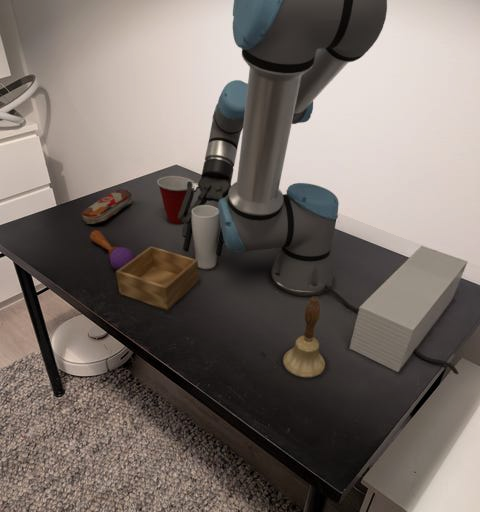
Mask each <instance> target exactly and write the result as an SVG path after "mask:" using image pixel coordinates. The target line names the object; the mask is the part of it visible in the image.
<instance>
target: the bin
mask: <svg viewBox="0 0 480 512" xmlns="http://www.w3.org/2000/svg"><path fill="white" fill-rule="evenodd" d="M115 274H116V280H117V286H118V287H117V288H118V294H119V295H122V296H124V297H128V298H131V299H134V300H136V301H139V302H143V303H144V304H145V303H146V304H148V305H149V306H150V305H151V306H154V307H156V308H160V309H161V310H164V311H169V310H170V309H171V308H172V307H173V306H174V305H175V304H176V303H177V302H179V301H180V300H181V298H183V297H184V296H185V295H186V294H187V293H188V292H189V291H190V290H191V289H192V288H193V287H194V286H196V284H197V283H198V282H199V267H198V260H196V258H192V257H188V256H186V255H182V254H179V253H176V252H172V251H170V250H165V249H162V248H159V247H155V246H152V245H151V246H149V247H147V248H146V249H145V250H143V251H142V252H141V253H139V254H138V255H136V256H134V259H132V260H131V261H130V262H128V263H127V264H126V265H124V266H123V267H122V268H120V269H119V270H115Z"/></svg>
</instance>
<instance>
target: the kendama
mask: <svg viewBox="0 0 480 512" xmlns="http://www.w3.org/2000/svg"><path fill="white" fill-rule="evenodd" d="M89 238H90V240H91V241H92V242H93V243H95V244H96V245H98V246H100V247H102V248H103V249H105V250H106V251H108V259H109V262H110V263H109V264H110V266H112V268H113V269H114V270H115V271H117V270H119V269H120V268H122V267H123V266H124V265H126V264H127V263H128V262H130V261H131V260H132V259H134V258H135V254H134V253H133V251H132V250H131V249H129V248H127V247H124V246H112V245H111V244H110V243H109V241H108V240H107V238H106V237H105V236H104V235H103V233H102V232H101V231H100V230H93V231H92V232H91V233H90V235H89Z"/></svg>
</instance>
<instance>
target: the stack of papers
mask: <svg viewBox="0 0 480 512" xmlns="http://www.w3.org/2000/svg"><path fill="white" fill-rule="evenodd" d="M467 264H468V260H464V259H461V258H459V257H456V256H453V255H451V254H447V253H445V252H441V251H438V250H436V249H432V248H430V247H427V246H424V245H420V246H419V248H418V249H417V250H416V251H414V253H413V254H411V255H410V256H409V257H408V259H406V260H405V261H404V262H403V264H402V265H401V266H400V267H399V268H397V269H396V270H395V272H393V273H392V274H391V275H390V276H389V277H388V278H387V279H386V280H385V281H384V282H383V283H382V284H381V285H380V286H379V287H378V288H377V289H376V290H375V291H374V292H373V293H372V294H371V295H369V297H368V298H367V299H365V301H363V303H362V304H361V305H360V306H359V308H358V309H359V312H357V316H356V320H355V325H354V328H353V332H352V337H351V339H350V344H349V349H350V350H351V351H354V352H356V353H358V354H360V355H362V356H364V357H366V358H368V359H371V360H372V361H374V362H376V363H378V364H380V365H382V366H384V367H386V368H389V369H390V370H391V371H394V372H397V373H399V372H400V371H401V369H402V368H403V367H404V365H405V364H406V363H407V361H408V360H409V359H410V357H411V356H412V355H413V354H414V352H413V351H414V349H415V348H416V349H417V348H418V347H419V345H420V344H421V343H422V341H423V340H424V339H425V337H426V336H427V335H428V333H429V332H430V331H431V329H432V328H433V326H434V325H435V324H436V323H437V321H438V320H439V318H440V317H441V316H442V314H443V313H444V312H445V310H446V309H447V308H448V306H449V305H450V303H451V302H452V301H453V299H454V297H455V294H456V291H457V289H458V286H459V284H460V281H461V279H462V276H463V274H464V272H465V269H466V267H467Z"/></svg>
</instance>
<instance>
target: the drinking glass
mask: <svg viewBox="0 0 480 512" xmlns="http://www.w3.org/2000/svg"><path fill="white" fill-rule="evenodd" d="M191 221H192V240H193V247H194V249H193V250H194V257H195V258H194V259H195V260H198V269H202V270H212V269H214V268H215V267H216V265H217V257H218V256H217V254H216V250H217V245H218V240H219V234H220V228H221V223H220V217H219V209H218V207H216V206H213V205H209V204H204V205H201V206H197V207H195V208H193V209H192V216H191Z"/></svg>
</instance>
